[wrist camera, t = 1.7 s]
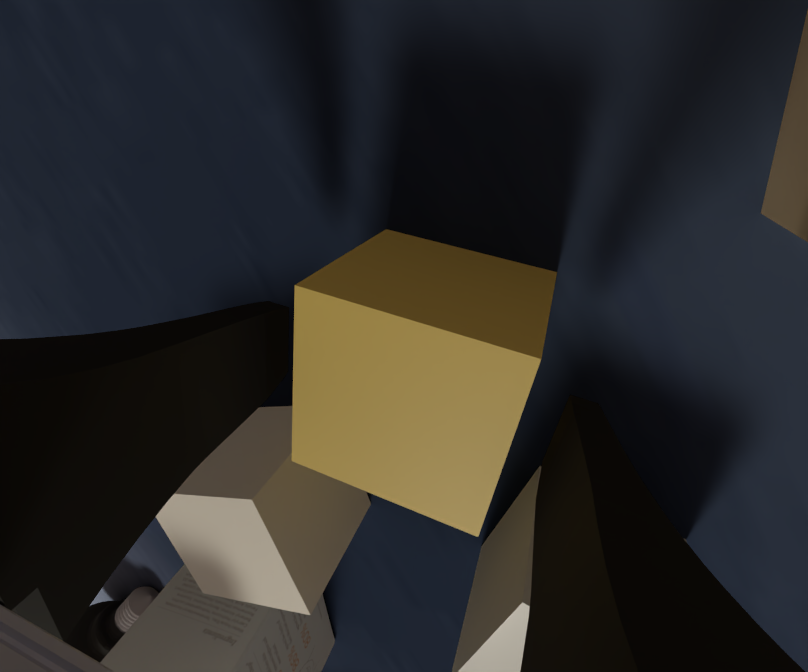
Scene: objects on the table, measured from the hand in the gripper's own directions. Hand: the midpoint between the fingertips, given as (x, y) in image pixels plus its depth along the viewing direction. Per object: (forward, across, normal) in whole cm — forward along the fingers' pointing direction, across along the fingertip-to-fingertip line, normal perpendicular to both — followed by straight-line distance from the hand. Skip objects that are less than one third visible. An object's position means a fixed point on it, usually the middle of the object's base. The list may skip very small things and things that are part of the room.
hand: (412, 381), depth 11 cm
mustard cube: (+3, 0, 0) cm, 4 cm away
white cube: (+3, +5, +8) cm, 10 cm away
